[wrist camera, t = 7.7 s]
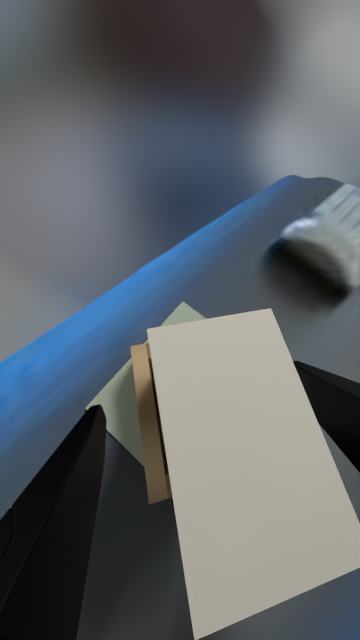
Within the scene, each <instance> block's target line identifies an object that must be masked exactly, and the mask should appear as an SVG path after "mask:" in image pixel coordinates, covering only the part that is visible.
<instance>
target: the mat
mask: <svg viewBox="0 0 360 640" xmlns="http://www.w3.org/2000/svg"><path fill="white" fill-rule="evenodd" d="M204 319H205V318H204V317H203V316H201V315H200V314H199V313H198V312H196V311H195V310H194V309H192V308H191V307H190V306H188V305H187V304H186V303H184V302H182V303H181V304H180V305H179V306H178V307H177V308H176V309H175V311H174V312H173V313H172V314H171V315H170V316H169V317H168V318H167V319H166V320H165V322H164V323H163V324H162V325H161V326H160V327H162V326H168V325H174V324H180V323H186V322H192V321H198V320H204ZM145 343H149V340H147V341H146V342H145ZM145 343H144V344H145ZM98 404H101V405H102V407H103V410H104V413H105V416H106V421H107V424H106V429H107V430H108V431H109V432H110V433H111V434H112V435H113V436H114V437H115V438H116V439H117V440H118V441H119V442H120V443H121V444H122V445H123V446H124V447H125V448H126V449H127V450H128V451H129V452H130V453H131V454H132V455H133V456H134V457H135V458H136V459H137V460H138V461H139V462H140V463H141V464H142V465H143V466H144V458H143V449H142V441H141V432H140V423H139V415H138V406H137V398H136V389H135V381H134V372H133V364H132V358H131V359H130V360H129V361H128V362H127V363H126V364H125V365H124V366H123V367H122V368H121V370H120V371H119V372H118V373H117V374H116V375H115V376H114V377H113V378H112V379H111V380H110V382H109V383H108V384H107V385H106V386H105V387H104V388H103V389H102V390H101V391H100V393H99V394H98V395H97V396H96V397H95V398H94V399H93V400H92V401H91V402H90V403H89V405H88V406H87V407H86V408H85V409H86V410H88V409H89V407H91V406H93V405H98ZM144 467H145V466H144Z"/></svg>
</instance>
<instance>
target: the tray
mask: <svg viewBox="0 0 360 640" xmlns="http://www.w3.org/2000/svg"><path fill="white" fill-rule="evenodd" d="M131 355H132V364H133V372H134V381H135V389H136V398H137V406H138V415H139V423H140V432H141V441H142V449H143V458H144V466H145V475H146V483H147V492H148V501H149V504H153V503H156V502H159V501H162V500H165V499H169V498H172V490H171V484H170V477H169V471H168V464H167V458H166V451H165V444H164V438H163V431H162V425H161V418H160V412H159V405H158V399H157V392H156V386H155V379H154V373H153V366H152V360H151V353H150V347H149V343H145V344H140V345H134V346H131Z"/></svg>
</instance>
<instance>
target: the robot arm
mask: <svg viewBox="0 0 360 640" xmlns="http://www.w3.org/2000/svg"><path fill="white" fill-rule="evenodd" d="M293 363H294V365H295V368H296V370H297V373H298V375H299V378H300V380H301V382H302V385H303V387H304V390H305V392H306V395H307V397H308V399H309V402H310V404H311V407H312V409H313V412H314V414H315V416H316V419H317V421H318V423H319V424H320V425H321V426H322V428H323V429H324V430H325V431H326V433H327V434H328V435H329V436H330V437H331V439H332V440H333V441H334V442H335V443H336V445H337V446H338V447H339V448H340V449H341V451H342V452H343V453H344V454H345V456H346V457H347V458H348V459H349V460H350V462H351V463H352V464H353V465H354V466H355V468H356V469H357V470H358V471H359V472H360V383H357V382H355V381H352V380H349V379H346V378H343V377H341V376H338V375H335V374H332V373H330V372H327V371H324V370H321V369H319V368H316V367H313V366H310V365H307V364H305V363H302V362H299V361H293ZM106 424H107V421H106V416H105V413H104V410H103V407H102V405H101V404H98V405H93V406H91V407H89V409H88V410H87V411H86V412H85V414H84V415H83V416H82V417H81V419H80V420H79V421H78V422H77V424H76V425H75V426H74V427H73V429H72V430H71V431H70V433H69V434H68V435H67V436H66V438H65V439H64V440H63V441H62V443H61V444H60V445H59V446H58V448H57V449H56V450H55V452H54V453H53V454H52V455H51V457H50V458H49V459H48V460H47V462H46V463H45V464H44V465H43V467H42V468H41V469H40V470H39V472H38V473H37V474H36V476H35V477H34V478H33V479H32V481H31V482H30V483H29V484H28V486H27V487H26V488H25V489H24V491H23V492H22V493H21V495H20V496H19V497H18V498H17V500H16V501H15V502H14V503H13V505H12V508H10V509H9V510H8V511H7V512H6V513H5V515H4V516H3V517H2V518H1V520H0V640H76V637H77V631H78V625H79V618H80V612H81V606H82V600H83V593H84V587H85V581H86V574H87V568H88V562H89V556H90V549H91V543H92V537H93V530H94V524H95V518H96V512H97V505H98V499H99V493H100V486H101V480H102V474H103V467H104V458H105V442H106Z"/></svg>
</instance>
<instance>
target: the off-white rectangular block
mask: <svg viewBox="0 0 360 640" xmlns="http://www.w3.org/2000/svg"><path fill="white" fill-rule="evenodd" d="M147 334H148V340H149V347H150V353H151V360H152V366H153V373H154V379H155V386H156V392H157V399H158V405H159V412H160V418H161V425H162V431H163V438H164V444H165V451H166V458H167V464H168V471H169V477H170V484H171V490H172V497H173V503H174V510H175V516H176V523H177V529H178V536H179V542H180V549H181V555H182V562H183V568H184V575H185V582H186V588H187V595H188V601H189V608H190V614H191V621H192V627H193V634H194V640H198V639H200V638H202V637H204V636H207V635H209V634H211V633H213V632H216V631H218V630H220V629H222V628H225V627H227V626H229V625H231V624H234V623H236V622H238V621H240V620H243V619H245V618H247V617H249V616H252V615H254V614H256V613H258V612H261V611H263V610H265V609H267V608H270V607H272V606H274V605H276V604H279V603H281V602H283V601H285V600H288V599H290V598H292V597H294V596H297V595H299V594H301V593H303V592H306V591H308V590H310V589H312V588H315V587H317V586H319V585H321V584H324V583H326V582H328V581H330V580H333V579H335V578H337V577H339V576H342V575H344V574H346V573H348V572H351V571H353V570H355V569H357V568H360V523H359V521H358V518H357V516H356V514H355V511H354V509H353V506H352V504H351V501H350V499H349V497H348V494H347V492H346V489H345V487H344V484H343V482H342V480H341V477H340V475H339V472H338V470H337V467H336V465H335V463H334V460H333V458H332V455H331V453H330V450H329V448H328V446H327V443H326V441H325V438H324V436H323V433H322V431H321V429H320V426H319V424H318V421H317V419H316V416H315V414H314V412H313V409H312V407H311V404H310V402H309V399H308V397H307V395H306V392H305V390H304V387H303V385H302V382H301V380H300V378H299V375H298V373H297V370H296V368H295V365H294V363H293V361H292V358H291V356H290V353H289V351H288V348H287V346H286V344H285V341H284V339H283V336H282V334H281V331H280V329H279V327H278V324H277V322H276V319H275V317H274V314H273V312H272V310H271V308H270V309H264V310H258V311H252V312H246V313H240V314H234V315H228V316H222V317H216V318H210V319H204V320H198V321H192V322H186V323H180V324H174V325H168V326H162V327H156V328H150V329H147Z"/></svg>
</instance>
